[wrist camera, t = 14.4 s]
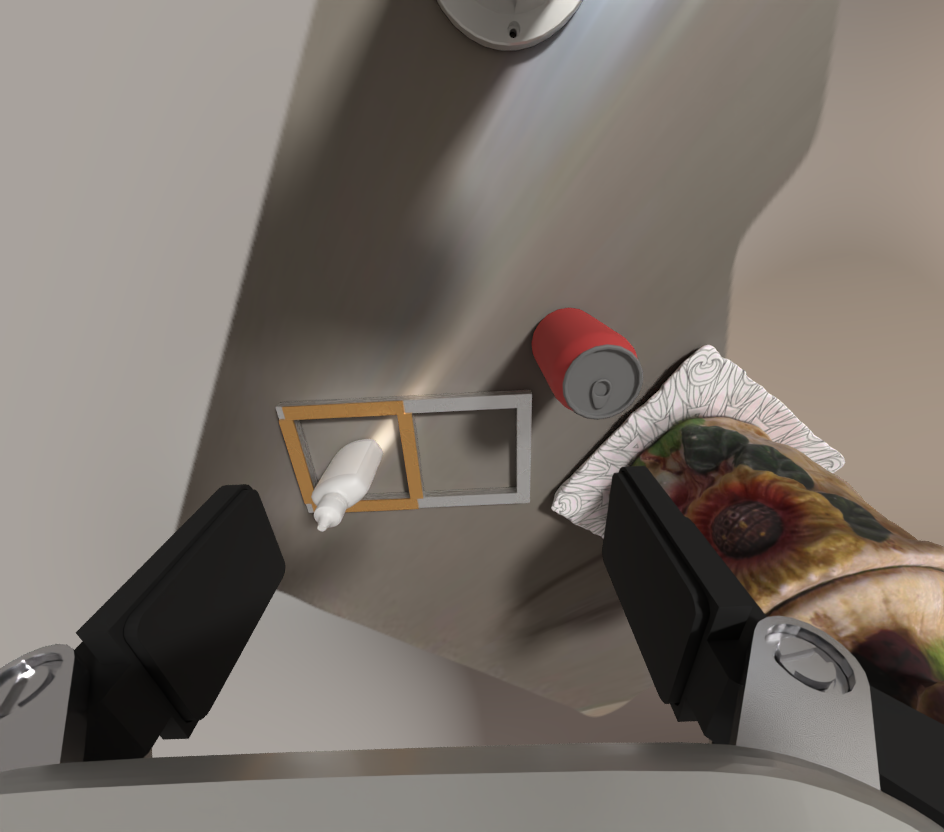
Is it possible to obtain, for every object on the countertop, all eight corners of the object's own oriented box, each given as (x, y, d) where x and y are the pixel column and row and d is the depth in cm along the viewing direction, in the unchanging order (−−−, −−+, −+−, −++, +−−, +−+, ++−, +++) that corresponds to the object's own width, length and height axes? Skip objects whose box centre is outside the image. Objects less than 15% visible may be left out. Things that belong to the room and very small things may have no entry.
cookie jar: (841, 454, 43) (1614, 907, 14) (677, 578, 51) (942, 1013, 23) (699, 333, 36) (1576, 701, 8) (540, 497, 45) (665, 959, 16)
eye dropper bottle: (332, 435, 41) (284, 506, 30) (383, 438, 41) (353, 509, 30) (336, 468, 43) (291, 545, 32) (385, 470, 43) (356, 549, 32)
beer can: (528, 372, 38) (552, 427, 27) (532, 307, 35) (560, 338, 24) (592, 371, 38) (641, 425, 27) (601, 306, 35) (660, 337, 24)
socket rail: (280, 402, 39) (274, 407, 38) (530, 389, 39) (532, 394, 37) (312, 506, 45) (307, 513, 44) (528, 496, 45) (530, 503, 44)
